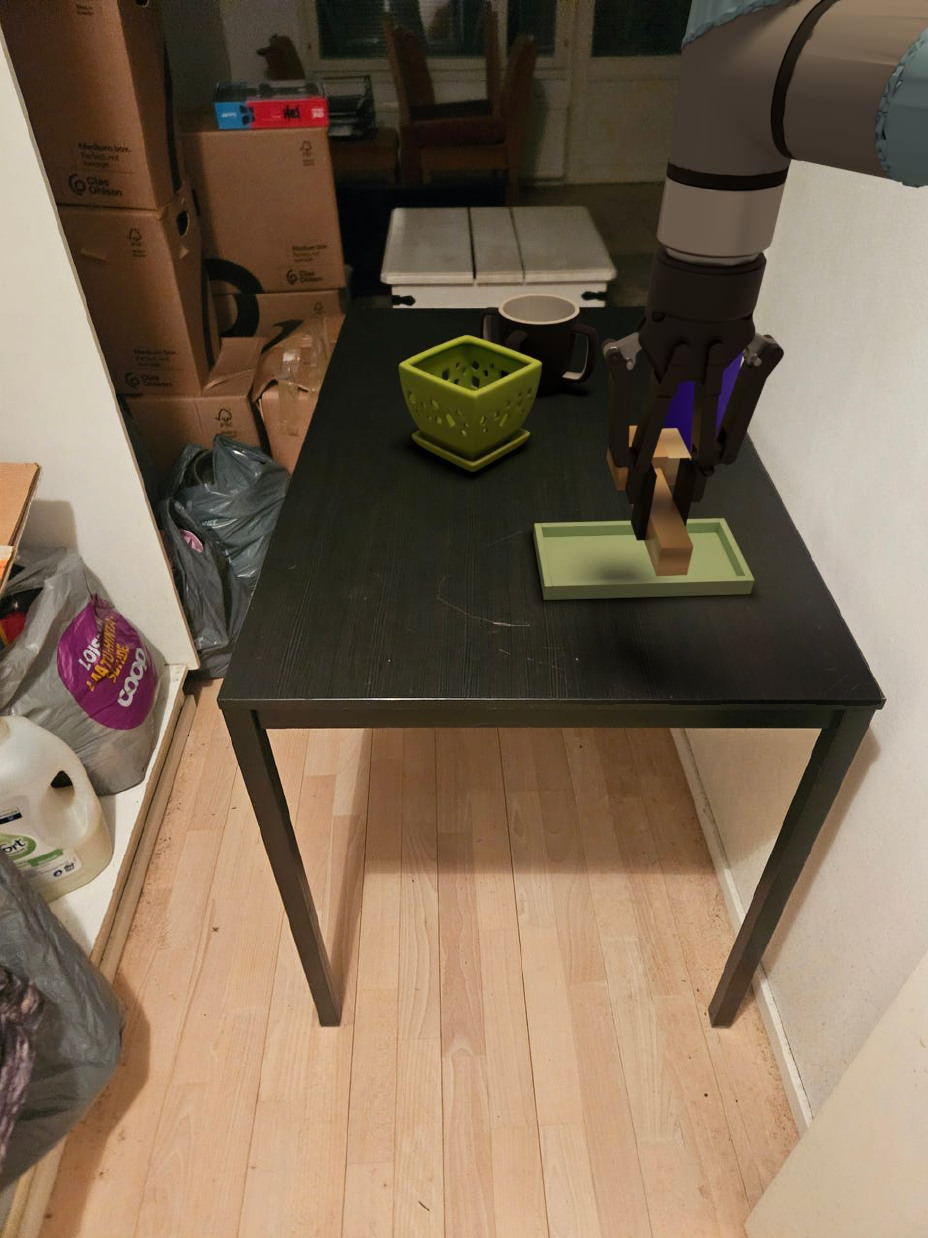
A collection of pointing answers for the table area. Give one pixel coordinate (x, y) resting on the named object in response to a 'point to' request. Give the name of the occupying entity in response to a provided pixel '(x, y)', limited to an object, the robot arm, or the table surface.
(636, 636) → the table surface
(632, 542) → the tray
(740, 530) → the table surface
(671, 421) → the bottle
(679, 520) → the wooden mallet
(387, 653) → the table surface
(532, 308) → the mug
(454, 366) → the flower pot
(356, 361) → the table surface
